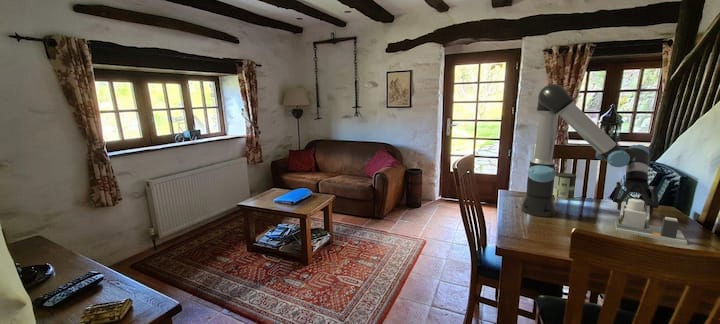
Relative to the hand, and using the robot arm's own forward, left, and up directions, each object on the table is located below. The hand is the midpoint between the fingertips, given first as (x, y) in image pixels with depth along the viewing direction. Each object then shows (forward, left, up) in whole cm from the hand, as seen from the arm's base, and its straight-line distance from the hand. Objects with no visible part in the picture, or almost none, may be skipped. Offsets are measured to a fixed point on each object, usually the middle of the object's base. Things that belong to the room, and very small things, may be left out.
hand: (634, 218), depth 127 cm
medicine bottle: (0, +3, -4) cm, 5 cm away
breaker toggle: (+11, -1, -5) cm, 12 cm away
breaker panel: (+5, +3, -6) cm, 9 cm away
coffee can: (-28, +40, -6) cm, 50 cm away
